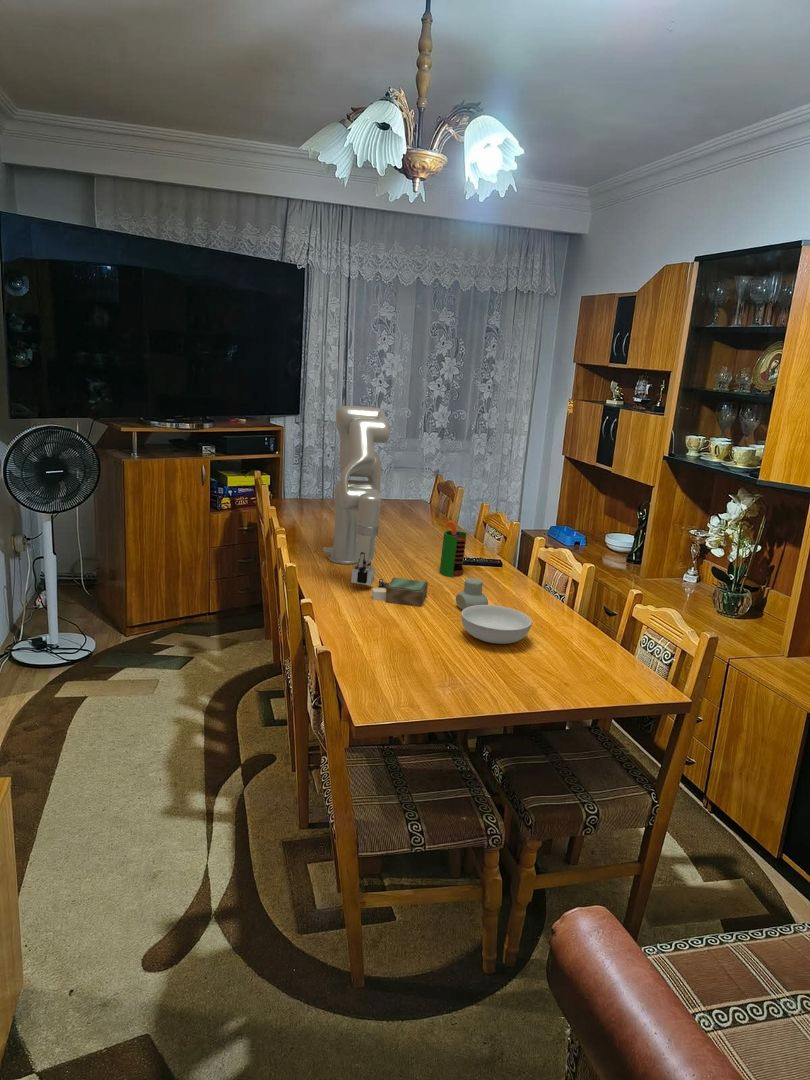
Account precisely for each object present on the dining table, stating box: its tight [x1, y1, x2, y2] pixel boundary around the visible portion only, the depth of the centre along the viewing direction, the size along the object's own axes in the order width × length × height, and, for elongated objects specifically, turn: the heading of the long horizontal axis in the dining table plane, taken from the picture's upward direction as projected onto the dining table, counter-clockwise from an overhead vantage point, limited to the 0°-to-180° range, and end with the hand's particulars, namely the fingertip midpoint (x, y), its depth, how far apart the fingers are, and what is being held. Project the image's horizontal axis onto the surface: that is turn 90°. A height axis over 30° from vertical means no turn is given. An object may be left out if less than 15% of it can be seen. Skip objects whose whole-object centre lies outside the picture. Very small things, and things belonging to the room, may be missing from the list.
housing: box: [350, 563, 376, 586], centre depth 258 cm, size 7×5×6 cm
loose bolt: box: [378, 578, 390, 588], centre depth 262 cm, size 6×3×3 cm, turn 80°
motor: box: [439, 520, 468, 578], centre depth 282 cm, size 10×9×20 cm
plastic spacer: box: [371, 587, 387, 601], centre depth 249 cm, size 4×4×3 cm
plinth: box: [385, 577, 429, 608], centre depth 250 cm, size 12×12×5 cm
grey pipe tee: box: [455, 577, 489, 611], centre depth 245 cm, size 11×8×10 cm
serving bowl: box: [460, 604, 533, 645], centre depth 222 cm, size 21×21×7 cm
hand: (363, 579), depth 258 cm, fingers closed on housing, 5 cm apart
